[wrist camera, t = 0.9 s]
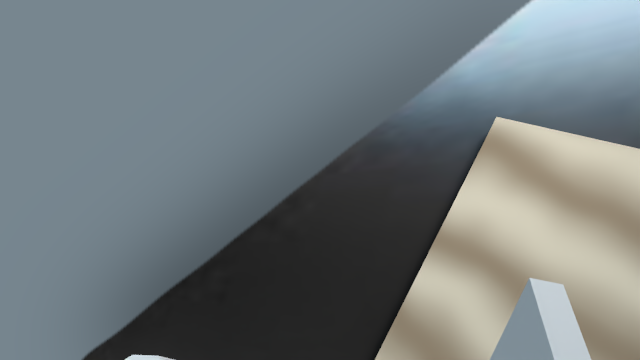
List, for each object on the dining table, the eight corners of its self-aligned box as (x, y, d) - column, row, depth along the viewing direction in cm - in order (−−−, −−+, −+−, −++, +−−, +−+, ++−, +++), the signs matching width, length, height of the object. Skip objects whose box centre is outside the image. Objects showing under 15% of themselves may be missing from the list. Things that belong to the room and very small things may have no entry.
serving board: (503, 127, 39) (496, 116, 38) (903, 221, 26) (909, 209, 25) (369, 396, 37) (358, 393, 36) (734, 654, 24) (733, 661, 22)
